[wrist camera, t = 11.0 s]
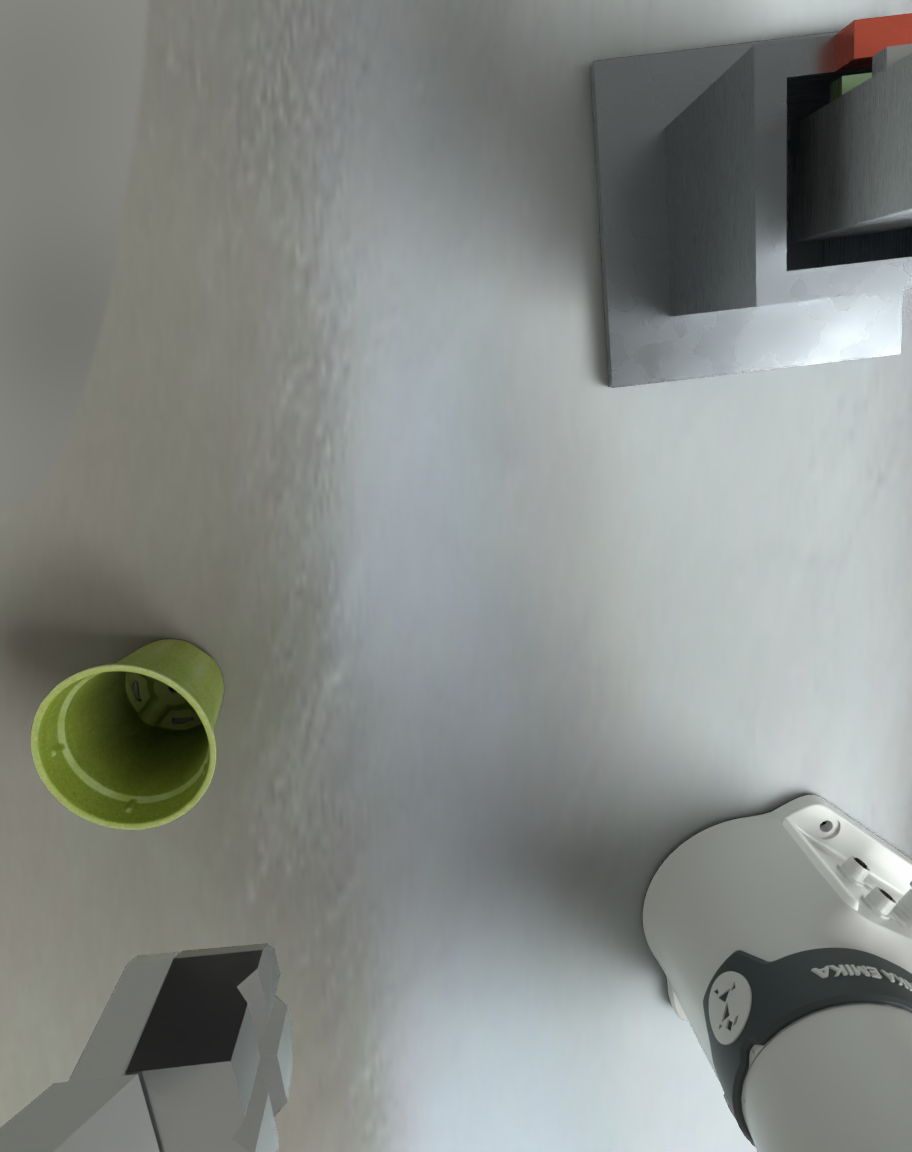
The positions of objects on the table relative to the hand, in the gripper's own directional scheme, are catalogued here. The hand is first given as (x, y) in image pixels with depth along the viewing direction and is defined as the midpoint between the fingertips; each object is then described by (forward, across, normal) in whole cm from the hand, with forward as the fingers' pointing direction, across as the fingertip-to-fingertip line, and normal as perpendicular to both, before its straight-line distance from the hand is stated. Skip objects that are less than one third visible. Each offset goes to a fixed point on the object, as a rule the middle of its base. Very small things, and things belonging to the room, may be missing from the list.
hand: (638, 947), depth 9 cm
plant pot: (+39, +20, +12) cm, 45 cm away
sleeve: (+39, -16, -11) cm, 44 cm away
